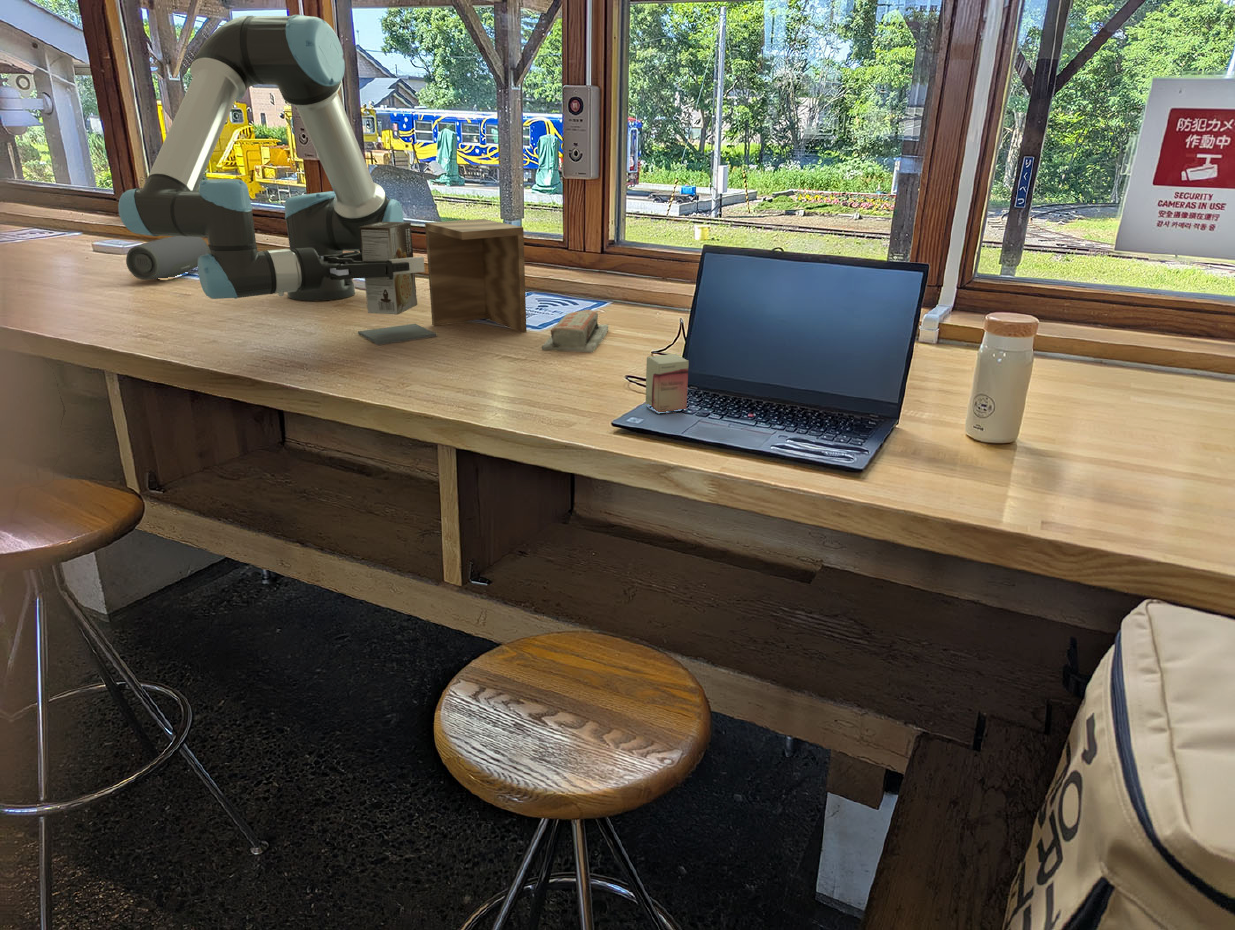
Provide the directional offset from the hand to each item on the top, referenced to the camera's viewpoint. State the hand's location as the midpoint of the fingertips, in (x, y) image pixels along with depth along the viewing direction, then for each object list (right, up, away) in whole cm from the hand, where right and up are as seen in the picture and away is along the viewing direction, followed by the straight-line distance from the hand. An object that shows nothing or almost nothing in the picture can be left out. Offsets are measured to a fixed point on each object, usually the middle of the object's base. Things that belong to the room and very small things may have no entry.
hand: (411, 260), depth 166 cm
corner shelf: (+11, -12, +9) cm, 19 cm away
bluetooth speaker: (-76, +9, +58) cm, 96 cm away
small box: (+47, -31, -37) cm, 67 cm away
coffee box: (-4, -9, +1) cm, 10 cm away
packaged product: (+32, -16, +2) cm, 35 cm away
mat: (-4, -14, +3) cm, 15 cm away
